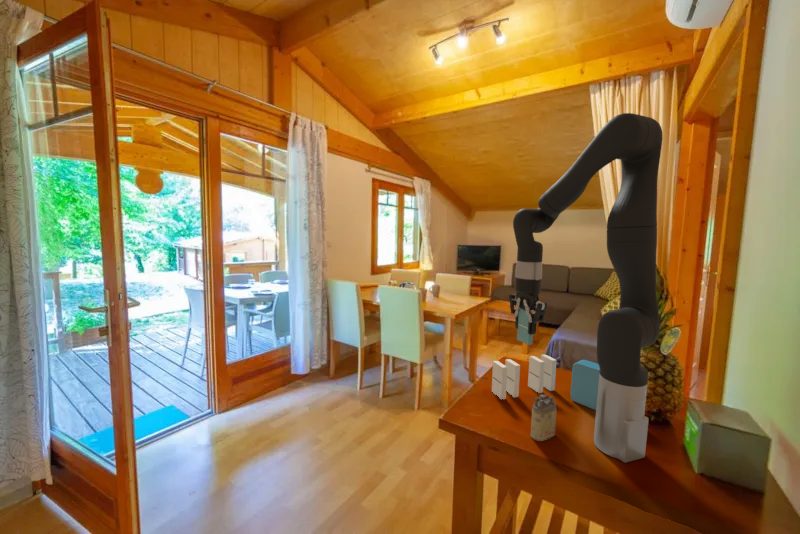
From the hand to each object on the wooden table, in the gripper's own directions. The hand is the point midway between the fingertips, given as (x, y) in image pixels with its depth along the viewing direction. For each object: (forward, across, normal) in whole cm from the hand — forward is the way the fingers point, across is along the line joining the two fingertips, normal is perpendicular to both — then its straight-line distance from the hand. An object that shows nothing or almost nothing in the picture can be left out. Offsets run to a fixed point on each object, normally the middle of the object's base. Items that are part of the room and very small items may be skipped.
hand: (525, 331), depth 103 cm
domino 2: (+20, 0, -4) cm, 20 cm away
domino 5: (+20, 0, +10) cm, 22 cm away
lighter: (+20, +20, -10) cm, 30 cm away
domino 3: (+3, 0, 0) cm, 3 cm away
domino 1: (+20, 0, -8) cm, 21 cm away
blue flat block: (+20, +14, +14) cm, 28 cm away
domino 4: (+20, 0, +5) cm, 20 cm away
